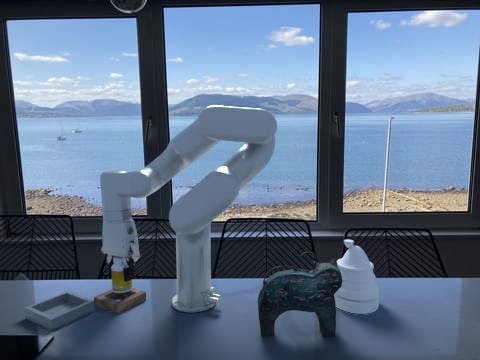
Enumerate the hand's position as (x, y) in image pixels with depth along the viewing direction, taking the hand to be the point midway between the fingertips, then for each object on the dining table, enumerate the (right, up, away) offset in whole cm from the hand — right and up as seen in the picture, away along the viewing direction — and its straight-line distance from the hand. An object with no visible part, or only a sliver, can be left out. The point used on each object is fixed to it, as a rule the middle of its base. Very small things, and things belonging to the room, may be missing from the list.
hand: (121, 277), depth 100 cm
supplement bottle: (0, -4, +1) cm, 4 cm away
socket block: (-1, -7, +1) cm, 8 cm away
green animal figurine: (+48, -9, -16) cm, 51 cm away
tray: (-14, -8, -6) cm, 18 cm away
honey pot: (+66, -7, 0) cm, 66 cm away
